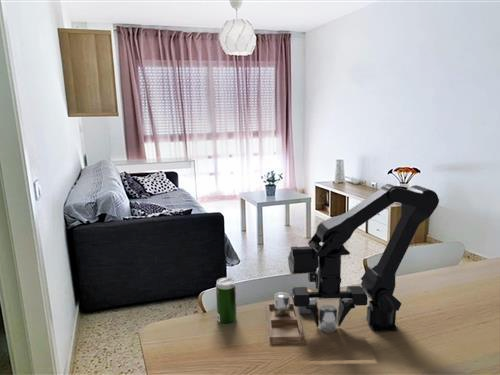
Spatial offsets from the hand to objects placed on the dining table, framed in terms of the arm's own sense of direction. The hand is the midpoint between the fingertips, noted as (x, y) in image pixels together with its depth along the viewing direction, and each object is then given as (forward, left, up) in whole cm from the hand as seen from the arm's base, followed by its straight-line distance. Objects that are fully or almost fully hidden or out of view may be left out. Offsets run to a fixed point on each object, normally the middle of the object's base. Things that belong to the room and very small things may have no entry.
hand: (327, 325), depth 102 cm
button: (+4, -10, +3) cm, 11 cm away
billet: (0, 0, -1) cm, 1 cm away
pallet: (+12, -2, -1) cm, 12 cm away
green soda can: (+27, -5, -1) cm, 27 cm away
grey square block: (+4, -10, -1) cm, 11 cm away
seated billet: (+12, -7, -1) cm, 13 cm away
